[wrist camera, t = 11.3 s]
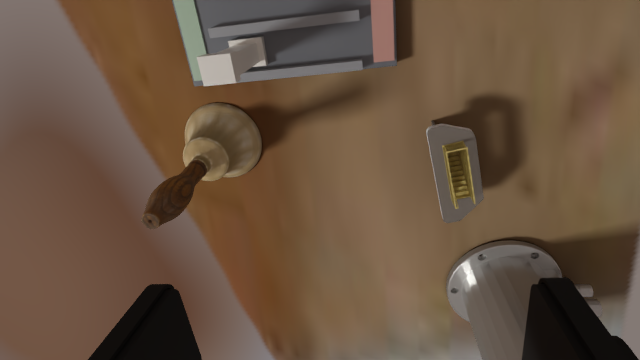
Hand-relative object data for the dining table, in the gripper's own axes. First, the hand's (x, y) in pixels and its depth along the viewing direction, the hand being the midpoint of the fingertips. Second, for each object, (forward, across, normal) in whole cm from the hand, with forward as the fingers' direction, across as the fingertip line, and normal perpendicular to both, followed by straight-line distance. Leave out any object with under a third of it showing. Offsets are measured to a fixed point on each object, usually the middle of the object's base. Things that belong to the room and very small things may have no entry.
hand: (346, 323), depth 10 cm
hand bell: (+29, +15, +3) cm, 33 cm away
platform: (+30, -8, +7) cm, 32 cm away
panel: (+28, +6, -9) cm, 31 cm away
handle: (+27, +10, -5) cm, 29 cm away
